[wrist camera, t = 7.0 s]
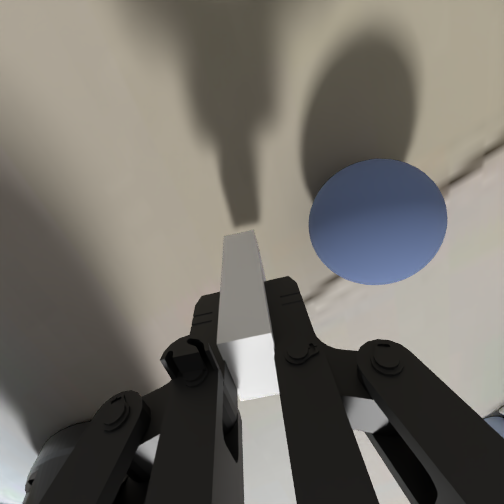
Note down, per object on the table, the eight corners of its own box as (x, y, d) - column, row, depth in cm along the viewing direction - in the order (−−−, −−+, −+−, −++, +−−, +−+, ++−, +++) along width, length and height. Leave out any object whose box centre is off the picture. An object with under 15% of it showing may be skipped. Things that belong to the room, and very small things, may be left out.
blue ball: (482, 294, 10) (413, 238, 15) (485, 142, 8) (404, 137, 13) (332, 322, 11) (315, 262, 16) (300, 197, 9) (292, 173, 14)
